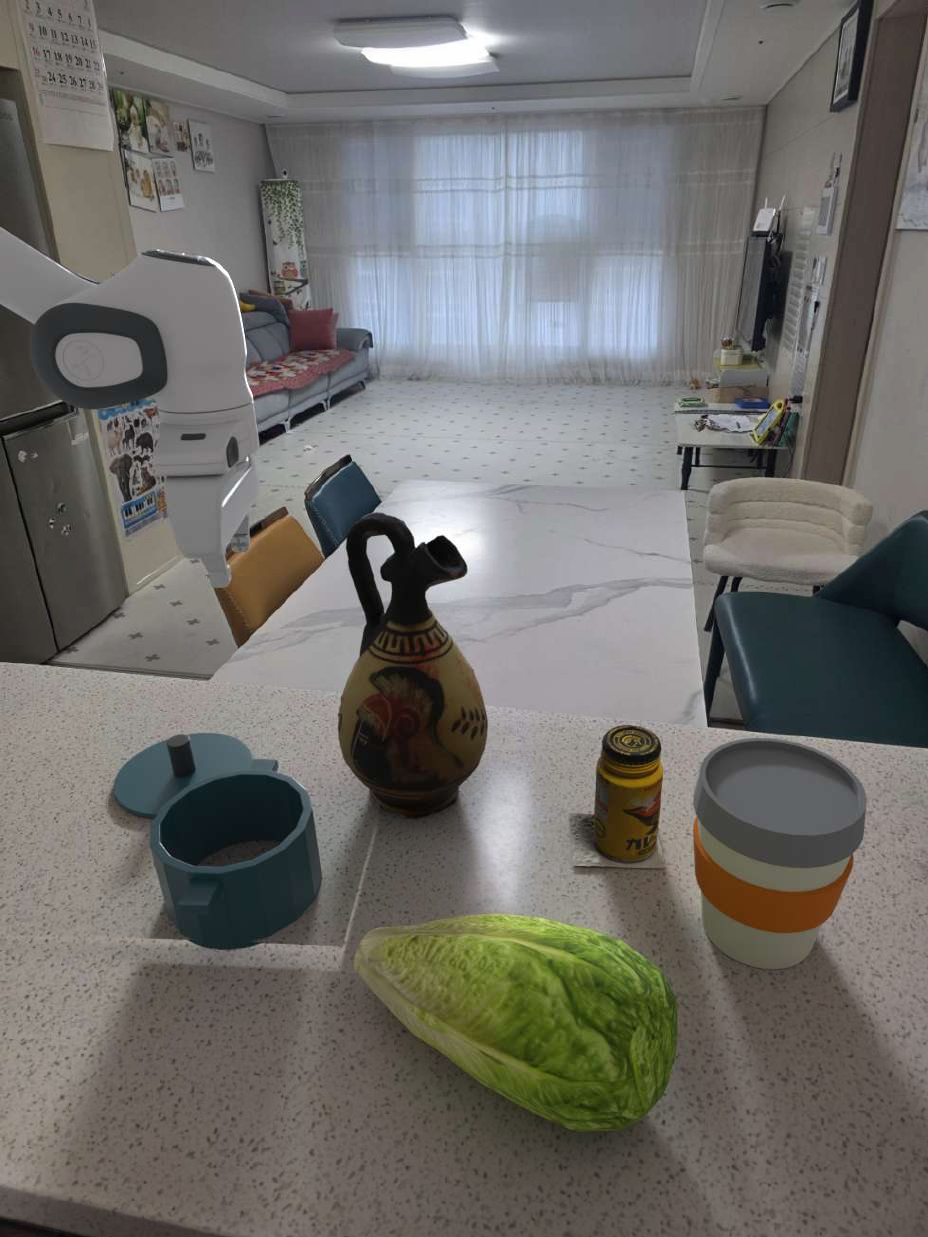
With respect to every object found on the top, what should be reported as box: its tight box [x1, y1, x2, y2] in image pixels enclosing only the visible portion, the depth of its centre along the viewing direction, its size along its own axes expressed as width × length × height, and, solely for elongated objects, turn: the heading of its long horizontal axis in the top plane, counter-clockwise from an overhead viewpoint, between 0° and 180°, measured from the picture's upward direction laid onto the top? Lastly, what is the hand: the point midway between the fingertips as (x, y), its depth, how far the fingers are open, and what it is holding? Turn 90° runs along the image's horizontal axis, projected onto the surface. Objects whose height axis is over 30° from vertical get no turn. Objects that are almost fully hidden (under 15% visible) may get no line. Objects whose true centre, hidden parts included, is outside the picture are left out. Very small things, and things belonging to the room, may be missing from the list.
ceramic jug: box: [337, 511, 489, 819], centre depth 82 cm, size 17×15×30 cm
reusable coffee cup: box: [692, 737, 868, 970], centre depth 66 cm, size 13×13×15 cm
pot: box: [149, 758, 323, 950], centre depth 73 cm, size 14×19×8 cm
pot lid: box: [113, 732, 255, 820], centre depth 90 cm, size 15×15×5 cm
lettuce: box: [353, 913, 679, 1133], centre depth 59 cm, size 12×24×13 cm
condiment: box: [569, 724, 666, 869], centre depth 77 cm, size 7×8×12 cm
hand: (232, 566), depth 85 cm, fingers open, 8 cm apart
